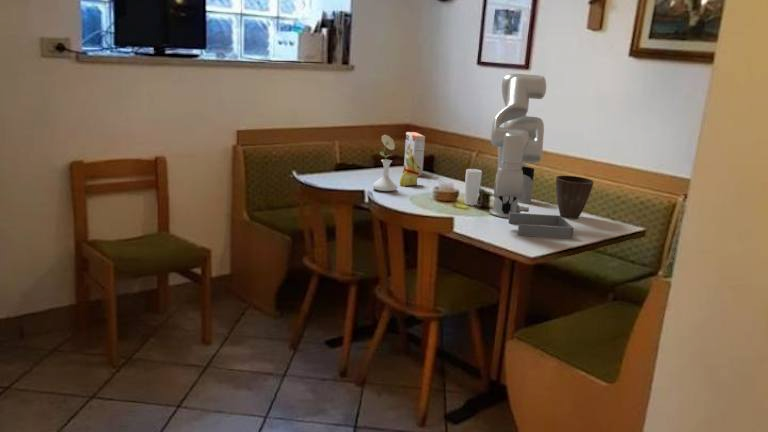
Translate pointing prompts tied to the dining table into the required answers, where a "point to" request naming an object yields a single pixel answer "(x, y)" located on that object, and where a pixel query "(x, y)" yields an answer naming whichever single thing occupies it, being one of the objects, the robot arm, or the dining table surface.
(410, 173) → the chocolate bunny
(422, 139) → the cracker box
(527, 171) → the glass holder
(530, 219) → the frame
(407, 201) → the dining table surface
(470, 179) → the drinking glass
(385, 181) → the flower in vase
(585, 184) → the plant pot
